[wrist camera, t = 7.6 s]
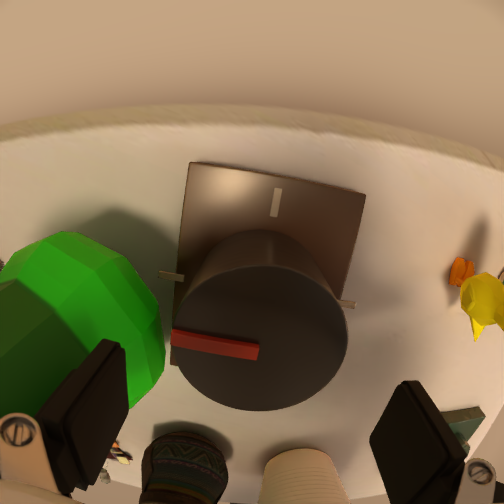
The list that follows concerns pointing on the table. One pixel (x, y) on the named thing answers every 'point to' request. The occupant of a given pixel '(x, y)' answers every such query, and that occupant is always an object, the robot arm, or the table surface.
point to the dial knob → (259, 324)
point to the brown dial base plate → (265, 220)
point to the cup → (302, 479)
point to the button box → (464, 424)
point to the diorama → (114, 454)
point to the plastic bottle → (72, 319)
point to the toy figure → (478, 296)
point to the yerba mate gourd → (182, 471)
